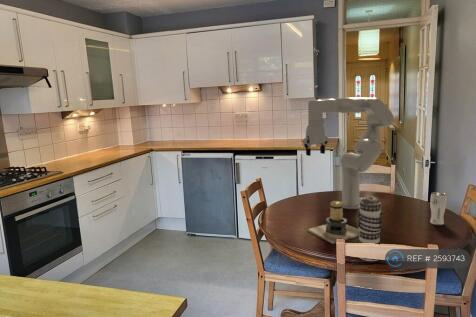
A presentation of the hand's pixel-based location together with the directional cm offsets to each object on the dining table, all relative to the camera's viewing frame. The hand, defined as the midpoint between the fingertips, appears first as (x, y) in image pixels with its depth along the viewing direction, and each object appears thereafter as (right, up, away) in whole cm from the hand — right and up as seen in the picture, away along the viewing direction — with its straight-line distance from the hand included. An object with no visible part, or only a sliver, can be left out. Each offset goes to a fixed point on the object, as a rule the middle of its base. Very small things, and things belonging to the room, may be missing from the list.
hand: (315, 154), depth 196 cm
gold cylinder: (+5, -37, -23) cm, 44 cm away
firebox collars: (+5, -38, -23) cm, 45 cm away
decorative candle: (+11, -43, -48) cm, 66 cm away
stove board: (+5, -38, -23) cm, 45 cm away
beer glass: (+57, -35, -16) cm, 69 cm away
